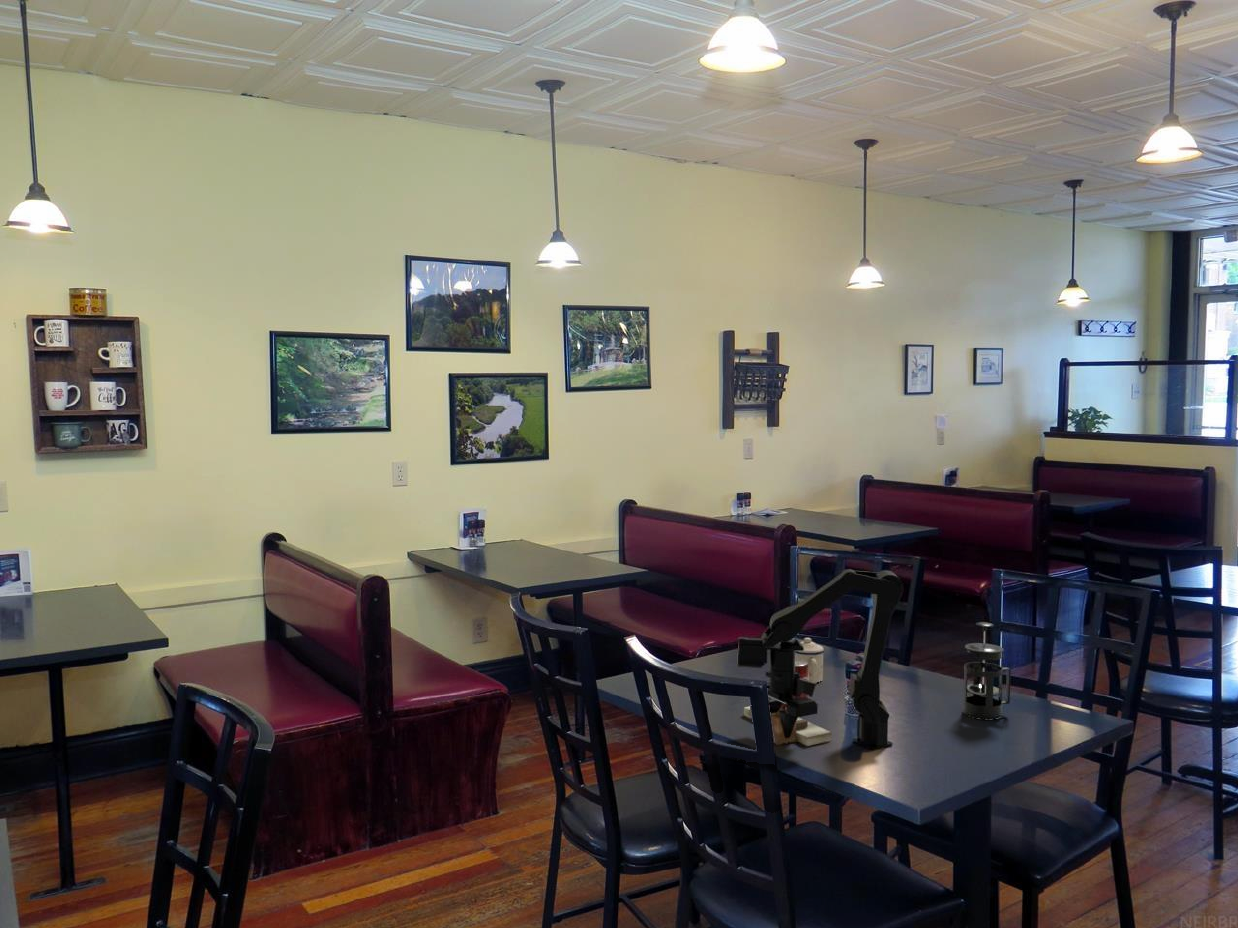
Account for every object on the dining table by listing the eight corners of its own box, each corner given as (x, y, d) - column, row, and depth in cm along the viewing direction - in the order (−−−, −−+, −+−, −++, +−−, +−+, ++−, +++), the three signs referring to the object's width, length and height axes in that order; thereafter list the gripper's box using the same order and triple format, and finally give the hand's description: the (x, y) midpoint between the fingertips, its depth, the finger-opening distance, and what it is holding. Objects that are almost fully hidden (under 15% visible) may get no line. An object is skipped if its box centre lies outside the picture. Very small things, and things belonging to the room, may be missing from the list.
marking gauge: (811, 737, 223) (811, 708, 222) (778, 744, 218) (778, 715, 218) (800, 732, 226) (800, 704, 226) (767, 739, 222) (767, 710, 221)
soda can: (806, 704, 247) (807, 658, 246) (809, 714, 240) (810, 666, 239) (778, 703, 247) (778, 657, 247) (780, 713, 240) (780, 665, 239)
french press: (967, 720, 235) (969, 627, 233) (954, 707, 244) (956, 618, 243) (1015, 720, 235) (1018, 627, 233) (1000, 708, 244) (1003, 618, 242)
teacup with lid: (786, 675, 273) (787, 634, 272) (817, 674, 274) (818, 633, 273) (798, 687, 261) (799, 645, 260) (831, 686, 262) (832, 644, 261)
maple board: (830, 740, 221) (831, 731, 221) (807, 745, 218) (807, 736, 217) (766, 710, 242) (766, 702, 242) (743, 715, 239) (743, 706, 238)
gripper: (837, 673, 216) (836, 741, 217) (784, 654, 232) (783, 717, 233) (798, 680, 210) (797, 750, 211) (746, 660, 227) (746, 725, 228)
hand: (781, 734), depth 221 cm, fingers closed on marking gauge, 4 cm apart
